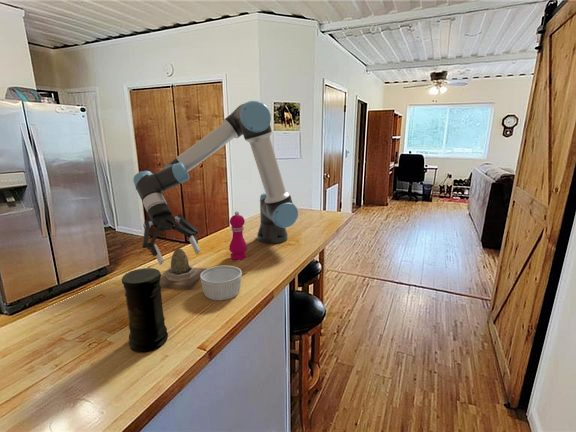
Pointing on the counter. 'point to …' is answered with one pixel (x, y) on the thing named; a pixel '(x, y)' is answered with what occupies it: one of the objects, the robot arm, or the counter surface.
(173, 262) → the decorative egg
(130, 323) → the container
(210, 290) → the ramekin
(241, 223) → the pepper mill
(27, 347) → the counter surface
